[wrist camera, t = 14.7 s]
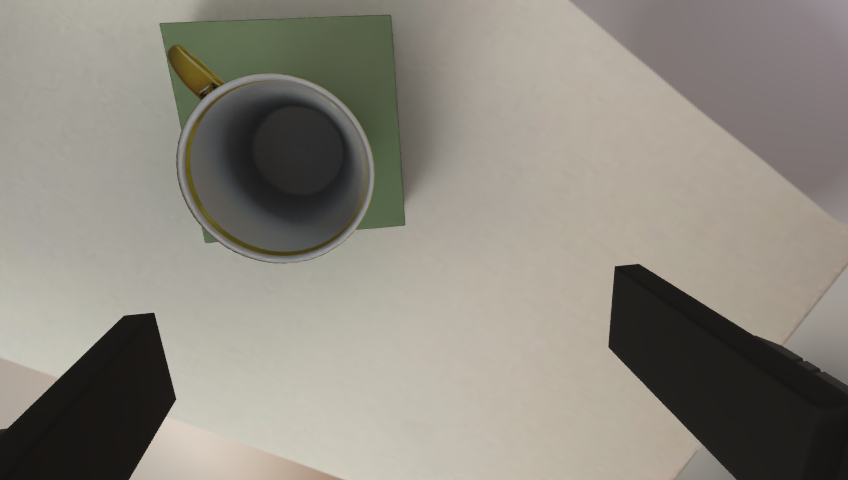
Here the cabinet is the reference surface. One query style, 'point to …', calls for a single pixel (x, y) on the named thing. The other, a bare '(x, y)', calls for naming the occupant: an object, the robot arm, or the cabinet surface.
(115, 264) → the cabinet surface
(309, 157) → the ceramic cup
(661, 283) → the robot arm
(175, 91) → the green block
